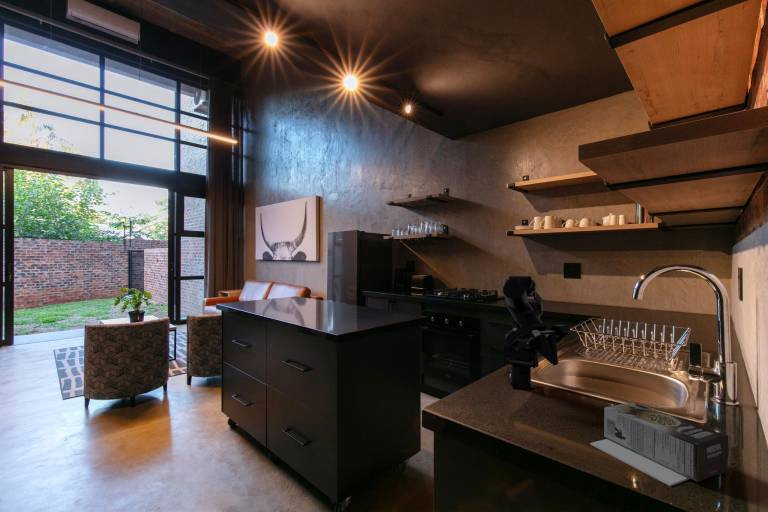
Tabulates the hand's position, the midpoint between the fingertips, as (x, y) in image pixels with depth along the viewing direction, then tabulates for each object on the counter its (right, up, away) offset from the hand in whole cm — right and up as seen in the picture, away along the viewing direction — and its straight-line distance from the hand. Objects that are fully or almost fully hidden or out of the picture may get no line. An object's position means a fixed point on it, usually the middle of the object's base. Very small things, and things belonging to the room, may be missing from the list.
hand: (556, 364), depth 88 cm
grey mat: (+7, -10, -22) cm, 25 cm away
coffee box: (+6, -7, -14) cm, 17 cm away
